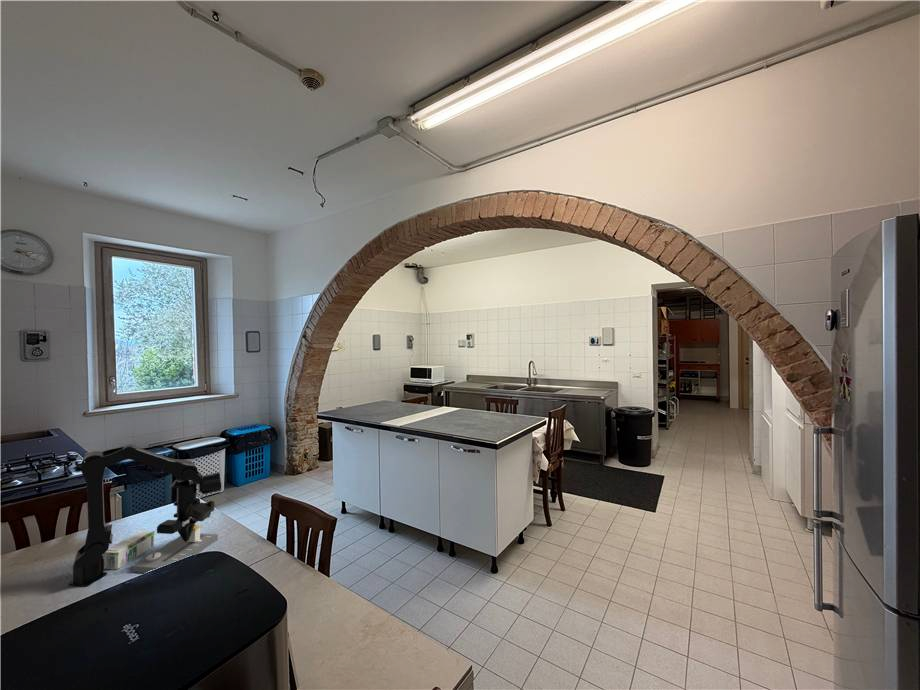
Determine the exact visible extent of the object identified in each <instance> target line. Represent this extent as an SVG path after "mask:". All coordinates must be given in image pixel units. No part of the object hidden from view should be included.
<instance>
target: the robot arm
mask: <svg viewBox="0 0 920 690" xmlns="http://www.w3.org/2000/svg"><path fill="white" fill-rule="evenodd" d="M125 460H131V461H135V462H137V463H141V464H142V465H146V466H149V467H153V468H156V469H159V470H161V471H165V472H167V473H168V474H170V475H172V477H175V480H174V481H173V482H172V483H171V484H170V485H169V487H170V490H174V489H176V501H174V502H173V506H174V507H176V513H174V514H173V518H177V519H167V520H165V521H163V522H161V523H159V524H158V525H157V526H156V534H163V535H164V534H165V535H172V534H175V533H177V532H178V535H179V536H181V537H182V539H183V540H184V541H185V542H187V541H188V540H189V538H190V535H191V532H192V530H193V527H194V525H196V523H198V522H204V521H205V520H206V519H208V518H210V517H211V515H212V512H214V511H215V505H216V504H215V501H213V500H210V501H207V502H201V499H200V498H199V497H197V491H198V493H201V494H202V495H207V494H212V493H216V492H221V491H222V482H221V474H220V472H214V473H211V474H206V475H202V473H201V472H199V471H198V468H197V466H196V464H195V462H194V461H191V460H187V459H178V458H176V459H175V458H171V457H167V456H165V455H162V454H159V453H156V452H153V451H150V450H147V449H144V448H142V447H139V446H136V445H135V444H130V443H129V444H127V445H126V444H125V445H123V446H119V447H115V448H110V449H107V450H103V451H100V450H97V451H96V450H94V451H91V452H89V453H87V454H86V455H84V456H83V459H82V460H81V463H80V471H81V474H82V477H83V480H84V482H85V484H86V499H87V500H86V501H87V502H86V503H87V522H88V523H87V526H88V527H87V528H88V529H87V534H86V538H85V542H84V544H83V545H82V546H81V547H80V548H79V549H78V550H77V551H76V555H75V557H74V558H75V559H74V561H73V565H72V581H70V582H68V583H67V586H74V587H76V586H77V587H88V586H90V585H91V584H93V583H96V581H98V580H100V579H102V578H103V577H105V576H107V575H108V572H106V571H105V569H104V559H103V554H104V553H105V552H106V551H107V550H108V549H109V548H110V545H112V543H113V536H114V535H113V533H112V530H113V524H108V525H107V524H106V520H105V499H104V498H105V497H104V495H105V494H104V477H105V476H104V475H105V471H106V468H108V467H111V466H113V465H116V464H119V463H120V462H122V461H125ZM176 478H177V479H176ZM197 485H198V486H197ZM197 488H198V490H197Z"/></svg>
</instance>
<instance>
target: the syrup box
mask: <svg viewBox="0 0 920 690" xmlns="http://www.w3.org/2000/svg"><path fill="white" fill-rule="evenodd" d="M154 547H155V531H153V530H139V531H137V532H135V533H134V534H131V535H130V536H129V537H127V538H125V539H123V540H121V541H120V542H118V543H116V544H114V545H112V546H111V547H109V548H108V550H107V551H106V552H105V553H104V554H102V555H103V559H104V570H105V569H106V570H118V569H121V568H122V567H123V566H125V565H127V564H128V563H130V562H131V561H133V560H134V559H136V558H137V557H139V556H140V555H142V554H144V553H146V552H148V550H151V549H152V548H154Z"/></svg>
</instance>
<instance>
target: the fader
mask: <svg viewBox="0 0 920 690" xmlns="http://www.w3.org/2000/svg"><path fill="white" fill-rule="evenodd" d="M200 533H201V525H200V524H199V525H198V524H195V525H194V527H193V530H192V532H191V535H190V538H189V540H188V541H187V542H196V541H197V540H199V539H200Z"/></svg>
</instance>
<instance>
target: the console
mask: <svg viewBox="0 0 920 690" xmlns="http://www.w3.org/2000/svg"><path fill="white" fill-rule="evenodd" d="M218 540H219V539H218V534H217V533H201V532H200V539H199V540H197V541H196V542H185V541H184V540H183V539H182V537H181V536H180V535H179V536H178V537H176V538H175V539H173V540H172V541H170V542H169V543H167V544H165V545H163V546H162V547H160V548H159V549H157V550H155V551H153V552H152V553H149V554H148V555H146V557H143V558H142V559H140V560H139V561H137V562H136V563H134V564H132V565H131V567H130V572H131V573H136V572H142V573H141V574H146V573H145V572H148V571H150V570H153V569H156V568H159V567H161V566H164V565H167V564H169V563H172V562H174V561H177V560H180V559H182V558H185V557H187V556H190V555H194V554H197V553H198V554H200V553H201V552H202V551H203V550H205V549H206V548H208V547H210V546H211V545H212V544H214V543H215V542H217V541H218ZM198 554H197V555H198Z"/></svg>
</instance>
